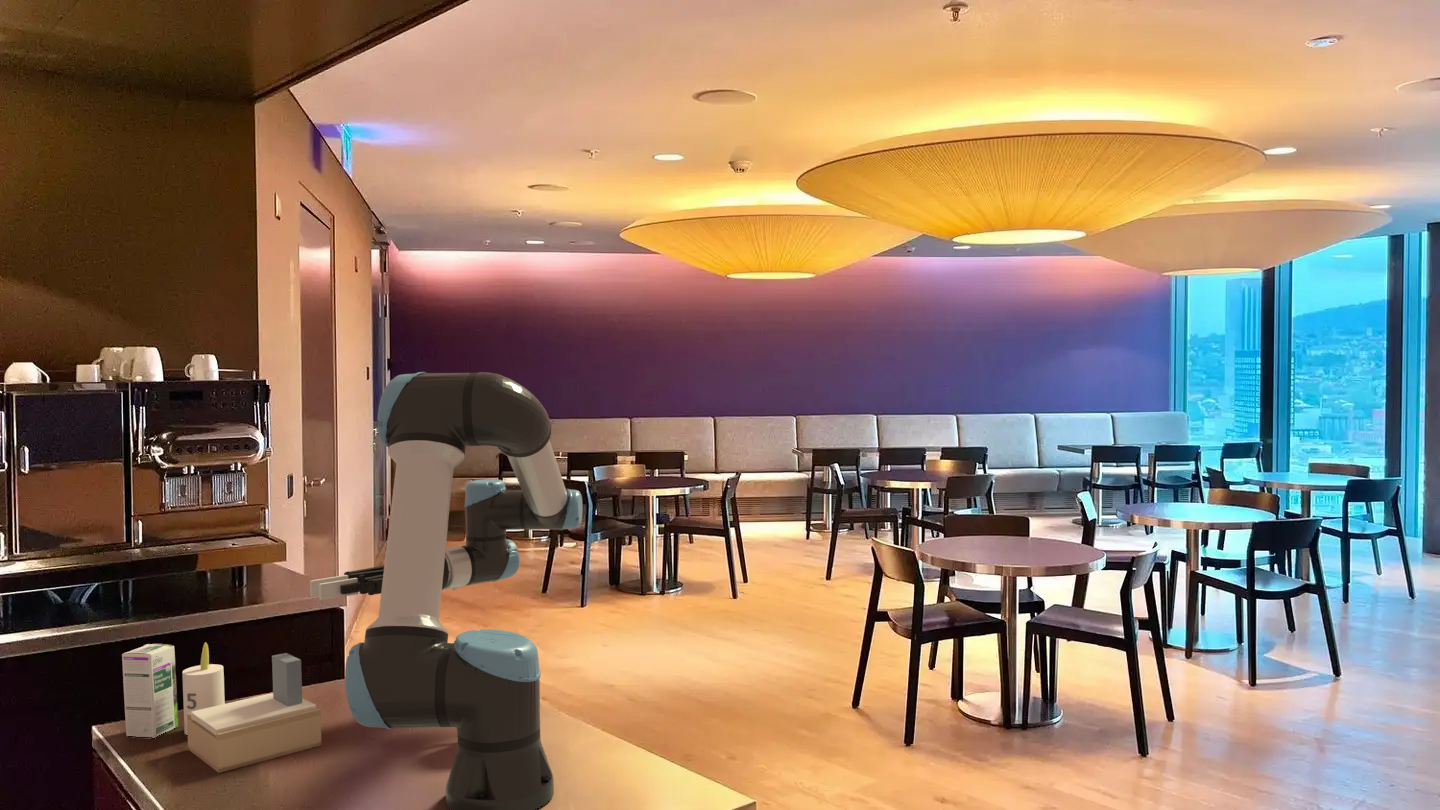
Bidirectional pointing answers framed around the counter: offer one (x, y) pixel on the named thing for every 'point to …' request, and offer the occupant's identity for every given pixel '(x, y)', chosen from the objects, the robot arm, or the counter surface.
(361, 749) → the counter surface
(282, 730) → the box
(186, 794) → the counter surface
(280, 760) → the counter surface
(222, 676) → the candle
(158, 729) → the syrup box
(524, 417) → the robot arm
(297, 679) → the lid
